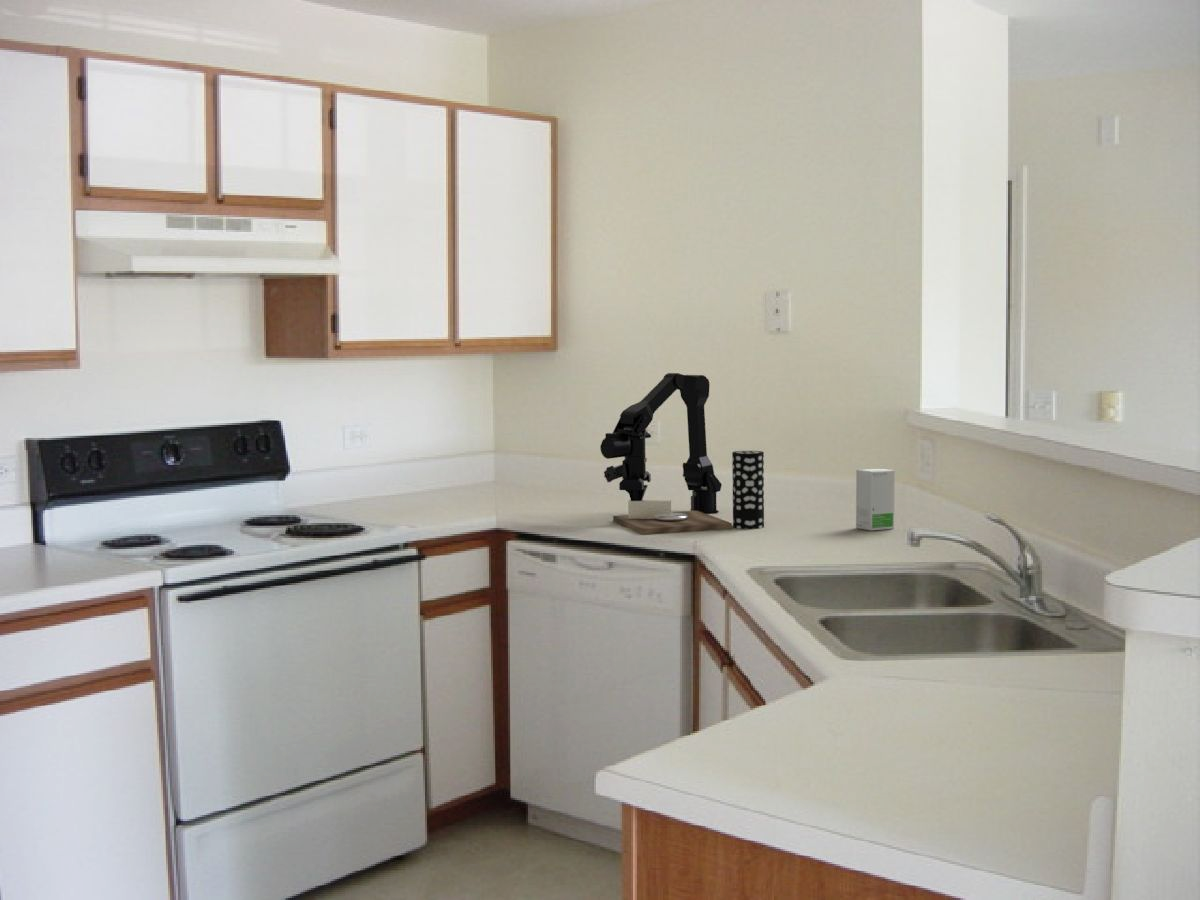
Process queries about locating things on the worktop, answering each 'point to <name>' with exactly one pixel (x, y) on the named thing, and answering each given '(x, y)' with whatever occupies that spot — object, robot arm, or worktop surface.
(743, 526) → the white-spotted black cylinder
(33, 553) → the worktop surface
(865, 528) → the skincare box
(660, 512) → the cream block with dome
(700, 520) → the dial plate
